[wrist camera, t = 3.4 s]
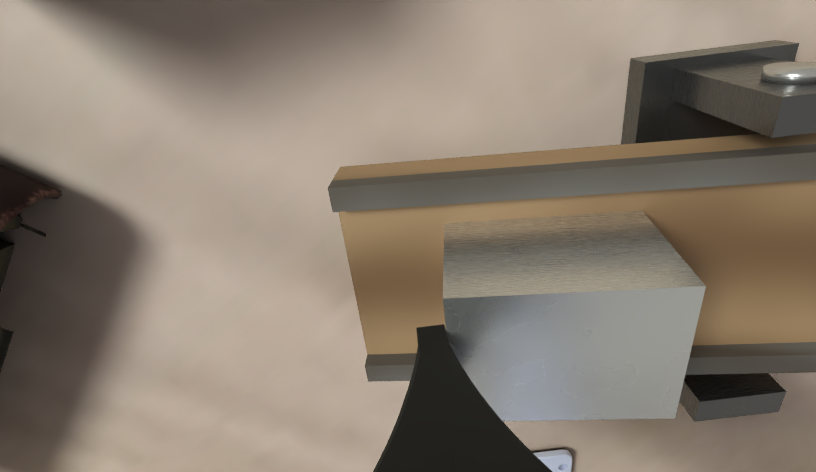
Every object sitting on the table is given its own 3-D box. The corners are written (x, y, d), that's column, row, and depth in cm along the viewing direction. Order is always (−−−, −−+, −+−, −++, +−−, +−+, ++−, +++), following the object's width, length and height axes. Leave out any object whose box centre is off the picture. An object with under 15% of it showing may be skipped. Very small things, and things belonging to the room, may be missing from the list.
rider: (625, 323, 16) (675, 418, 13) (453, 330, 17) (455, 421, 13) (641, 210, 14) (706, 286, 10) (444, 223, 15) (442, 298, 11)
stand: (706, 316, 21) (803, 413, 17) (600, 329, 22) (665, 430, 17) (775, 40, 16) (955, 63, 11) (630, 58, 16) (743, 89, 11)
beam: (1109, 329, 16) (1207, 381, 14) (375, 350, 19) (366, 395, 17) (1300, 87, 12) (1476, 109, 10) (339, 164, 15) (322, 193, 13)
